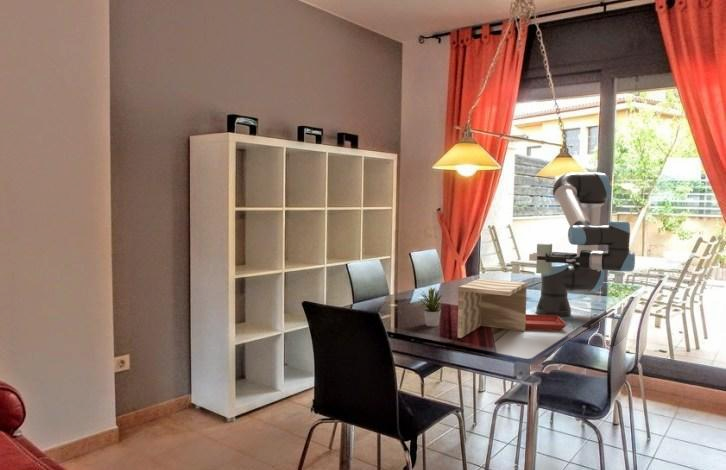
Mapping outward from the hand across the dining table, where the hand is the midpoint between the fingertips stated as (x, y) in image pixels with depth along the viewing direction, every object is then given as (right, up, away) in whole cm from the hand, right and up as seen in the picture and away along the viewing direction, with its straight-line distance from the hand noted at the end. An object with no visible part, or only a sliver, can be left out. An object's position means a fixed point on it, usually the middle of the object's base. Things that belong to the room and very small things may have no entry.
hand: (531, 256), depth 224 cm
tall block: (+5, -7, -2) cm, 8 cm away
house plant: (-42, -29, +2) cm, 51 cm away
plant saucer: (+4, -29, 0) cm, 30 cm away
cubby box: (-19, -30, -14) cm, 38 cm away
